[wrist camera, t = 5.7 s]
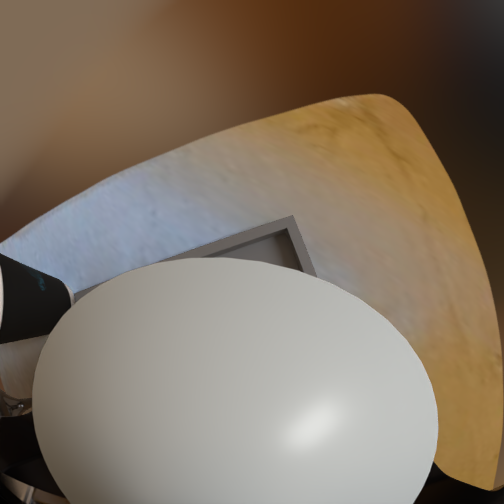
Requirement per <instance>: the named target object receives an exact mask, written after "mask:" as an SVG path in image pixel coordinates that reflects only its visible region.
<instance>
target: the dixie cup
mask: <svg viewBox="0 0 504 504" xmlns="http://www.w3.org/2000/svg"><path fill="white" fill-rule="evenodd" d="M74 304H75V299H74V295H73V293H72V291H71V289H70V288H69V287H68V286H67V285H66V284H64V283H63V282H62V281H61V280H59V279H57V278H55V277H52V276H50V275H47V274H45V273H43V272H40V271H38V270H35V269H33V268H31V267H29V266H26V265H24V264H22V263H20V262H17V261H15V260H13V259H11V258H9V257H7V256H5V255H3V254H1V253H0V344H3V343H9V342H14V341H18V340H23V339H28V338H33V337H38V336H42V335H47V334H50V333H51V331H52V330H53V329H54V327H55V326H56V325H57V323H58V322H59V320H60V319H61V318H62V316H63V315H64V314H65V313H66V312H67V311H68V310H69V309H70V308H71V307H72V306H73V305H74Z"/></svg>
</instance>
